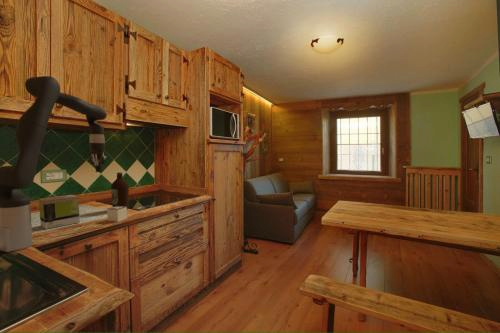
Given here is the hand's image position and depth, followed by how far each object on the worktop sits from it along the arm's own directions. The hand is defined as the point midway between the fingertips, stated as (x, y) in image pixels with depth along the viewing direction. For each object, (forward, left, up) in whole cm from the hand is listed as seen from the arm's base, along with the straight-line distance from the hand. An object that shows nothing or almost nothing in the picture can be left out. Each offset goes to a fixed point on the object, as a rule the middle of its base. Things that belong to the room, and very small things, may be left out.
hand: (98, 171), depth 142 cm
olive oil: (+18, +5, -27) cm, 33 cm away
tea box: (-18, +6, -27) cm, 33 cm away
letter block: (0, -14, -20) cm, 24 cm away
